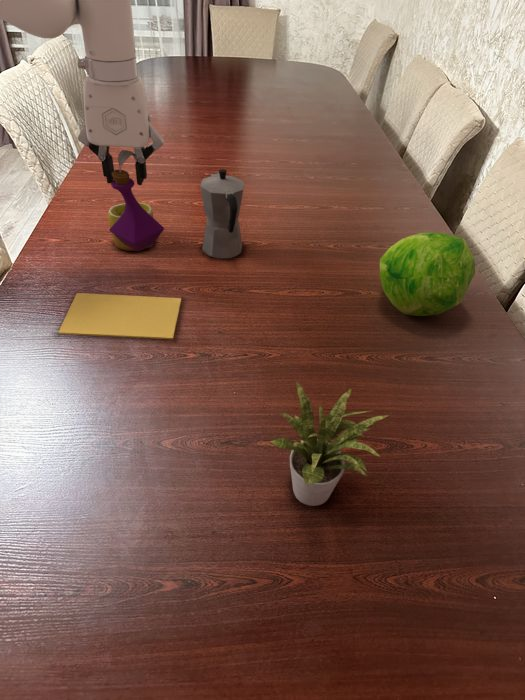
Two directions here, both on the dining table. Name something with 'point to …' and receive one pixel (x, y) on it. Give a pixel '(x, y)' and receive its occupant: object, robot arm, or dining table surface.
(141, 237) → the purple potion bottle
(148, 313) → the yellow rectangular board
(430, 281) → the lettuce
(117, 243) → the mug
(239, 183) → the coffeepot
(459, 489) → the dining table surface
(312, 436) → the house plant
